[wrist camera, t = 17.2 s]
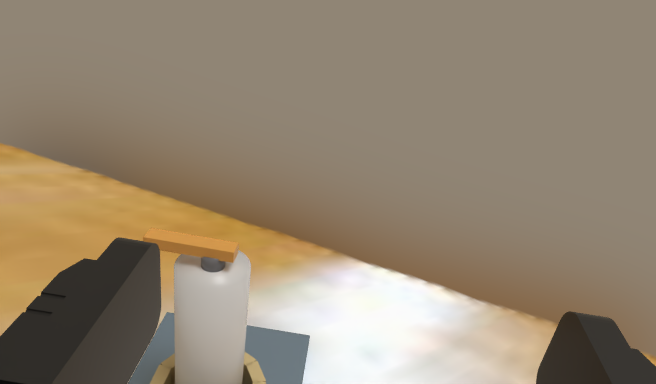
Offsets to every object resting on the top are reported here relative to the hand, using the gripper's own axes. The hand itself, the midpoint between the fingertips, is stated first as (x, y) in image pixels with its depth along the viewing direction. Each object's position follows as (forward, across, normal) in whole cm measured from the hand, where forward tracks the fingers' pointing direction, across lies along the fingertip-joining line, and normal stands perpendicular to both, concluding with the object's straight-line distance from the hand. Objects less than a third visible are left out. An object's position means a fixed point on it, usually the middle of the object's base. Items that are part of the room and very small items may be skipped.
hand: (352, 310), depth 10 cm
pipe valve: (+19, +8, +28) cm, 35 cm away
